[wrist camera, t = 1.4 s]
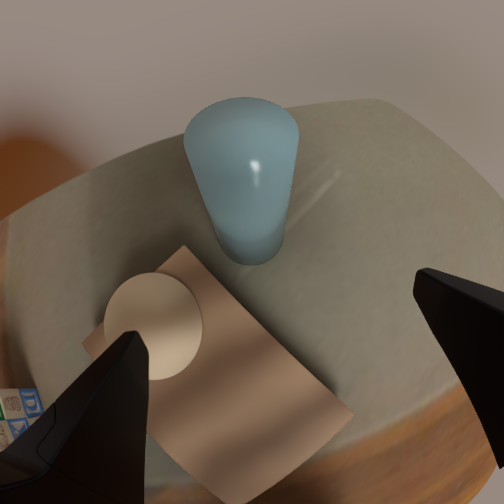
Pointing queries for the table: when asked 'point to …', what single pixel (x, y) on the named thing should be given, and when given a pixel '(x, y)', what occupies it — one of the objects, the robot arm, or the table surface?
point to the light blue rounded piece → (244, 173)
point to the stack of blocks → (17, 413)
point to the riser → (219, 381)
